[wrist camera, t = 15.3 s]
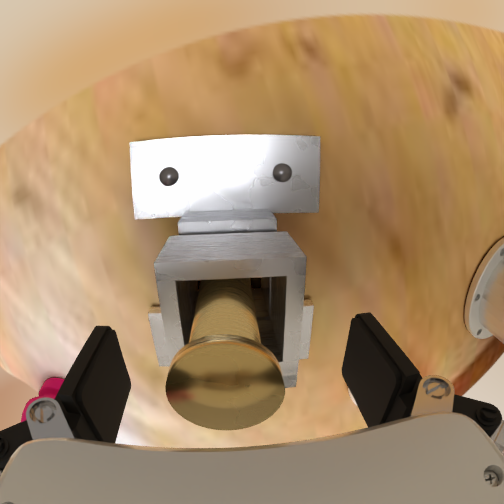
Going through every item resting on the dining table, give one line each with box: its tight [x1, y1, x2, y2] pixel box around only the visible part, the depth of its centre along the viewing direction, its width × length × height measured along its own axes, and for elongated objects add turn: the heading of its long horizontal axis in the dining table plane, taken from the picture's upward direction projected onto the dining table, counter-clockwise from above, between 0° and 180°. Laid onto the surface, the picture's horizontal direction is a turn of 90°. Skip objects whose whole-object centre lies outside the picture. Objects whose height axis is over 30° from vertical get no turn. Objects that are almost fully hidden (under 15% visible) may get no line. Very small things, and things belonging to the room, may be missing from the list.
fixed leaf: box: [130, 135, 320, 321], centre depth 18 cm, size 12×11×4 cm
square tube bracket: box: [148, 231, 314, 388], centre depth 18 cm, size 12×12×8 cm
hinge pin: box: [166, 278, 285, 430], centre depth 15 cm, size 4×4×13 cm
